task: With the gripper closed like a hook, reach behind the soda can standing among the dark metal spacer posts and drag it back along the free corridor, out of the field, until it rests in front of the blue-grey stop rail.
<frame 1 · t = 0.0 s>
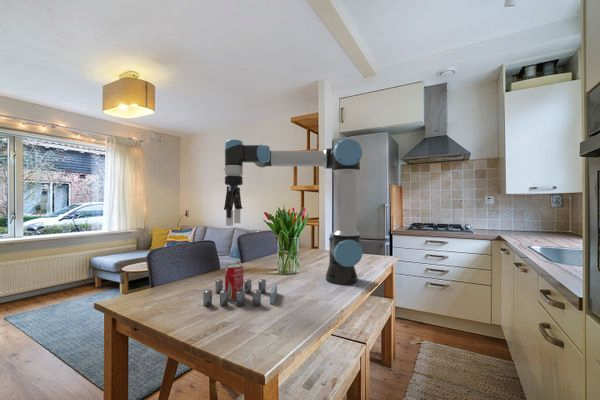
hand: (233, 224, 118), 28 cm above the table, fingers open, 13 cm apart
soda can: (234, 298, 106), on the table
stop rail: (273, 298, 106), on the table
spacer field: (236, 298, 106), on the table
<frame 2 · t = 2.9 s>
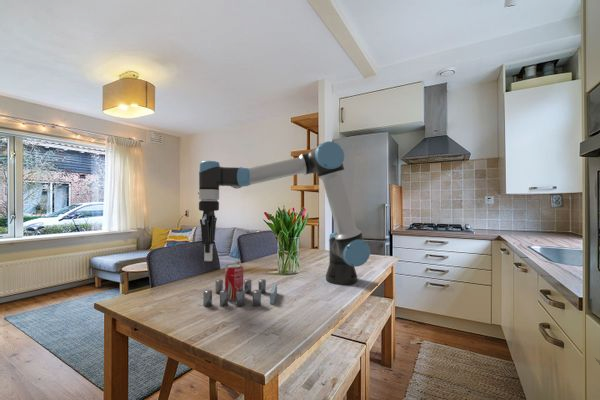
hand: (208, 260, 106), 15 cm above the table, fingers closed
nothing on the table moved.
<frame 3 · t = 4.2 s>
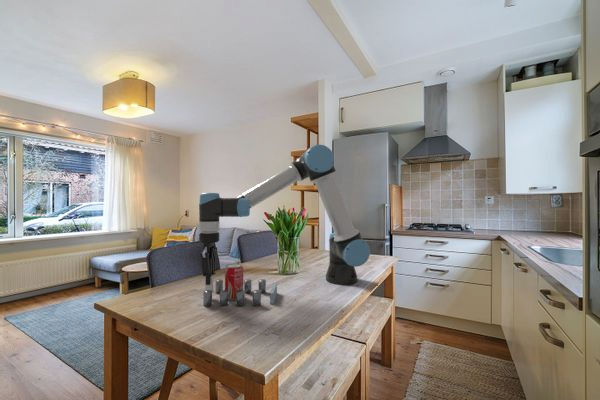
hand: (209, 292, 106), 2 cm above the table, fingers closed
nothing on the table moved.
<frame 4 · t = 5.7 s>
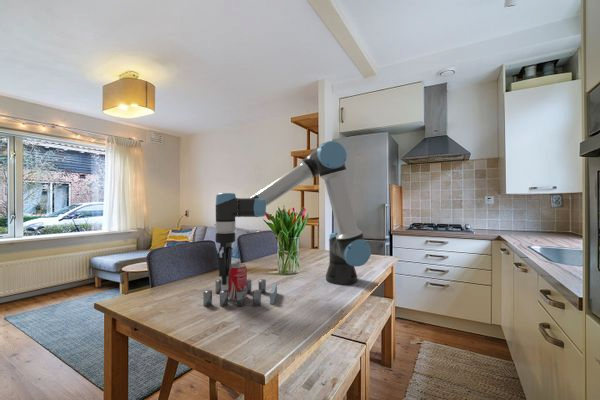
hand: (225, 292, 106), 2 cm above the table, fingers closed
soda can: (237, 298, 106), on the table, touching gripper
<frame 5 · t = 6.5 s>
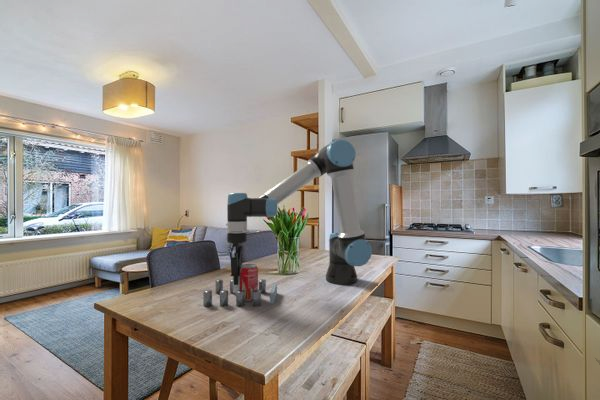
hand: (236, 292, 106), 2 cm above the table, fingers closed
soda can: (248, 299, 105), on the table, touching gripper
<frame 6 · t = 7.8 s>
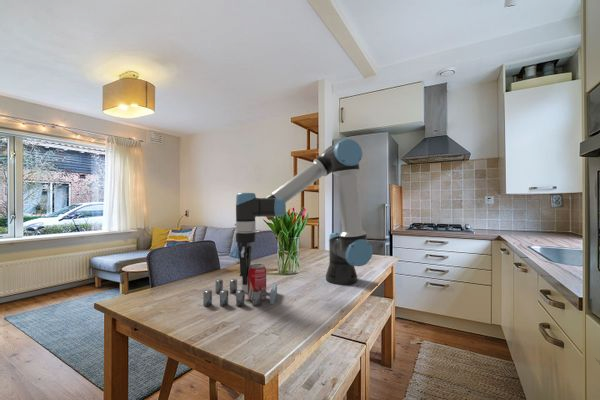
hand: (245, 292, 106), 2 cm above the table, fingers closed
soda can: (257, 299, 105), on the table, touching gripper
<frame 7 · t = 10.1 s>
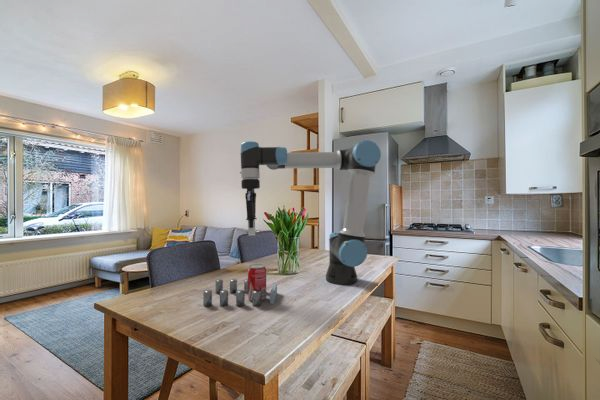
hand: (251, 235, 113), 24 cm above the table, fingers closed
soda can: (257, 299, 105), on the table
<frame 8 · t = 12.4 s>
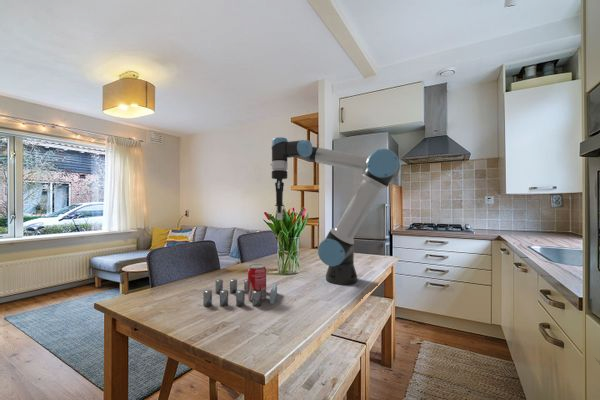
hand: (279, 219, 129), 29 cm above the table, fingers closed
nothing on the table moved.
at the end: soda can inside the target area (1.1 cm from its centre), on the table; soda can moved 9.2 cm from its start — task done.
